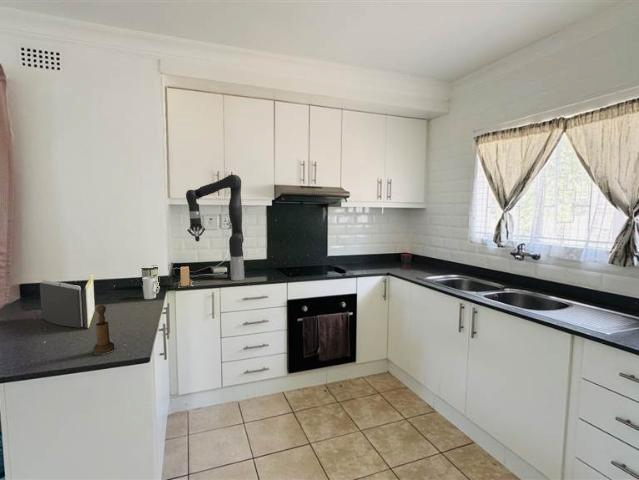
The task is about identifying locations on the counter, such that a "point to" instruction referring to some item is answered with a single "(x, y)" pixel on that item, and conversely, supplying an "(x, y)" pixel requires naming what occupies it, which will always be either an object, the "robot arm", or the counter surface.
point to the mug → (150, 287)
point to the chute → (190, 283)
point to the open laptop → (67, 303)
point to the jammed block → (184, 276)
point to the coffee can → (150, 273)
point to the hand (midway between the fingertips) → (197, 241)
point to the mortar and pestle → (102, 333)
